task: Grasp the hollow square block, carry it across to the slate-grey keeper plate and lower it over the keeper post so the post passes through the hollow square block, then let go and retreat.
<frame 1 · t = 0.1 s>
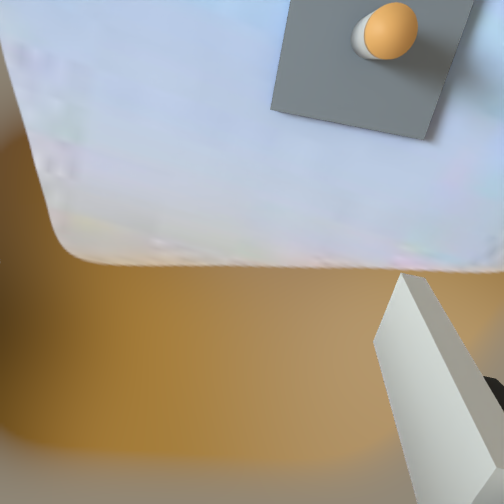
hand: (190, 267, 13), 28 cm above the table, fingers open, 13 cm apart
keeper: (368, 38, 34), on the table
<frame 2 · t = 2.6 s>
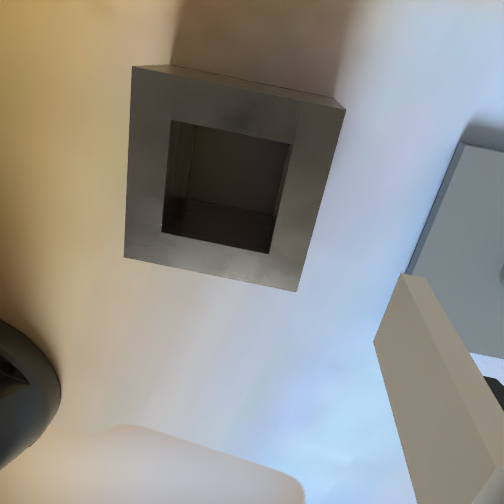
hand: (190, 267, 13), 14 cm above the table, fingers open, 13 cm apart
hollow square block: (237, 163, 26), on the table
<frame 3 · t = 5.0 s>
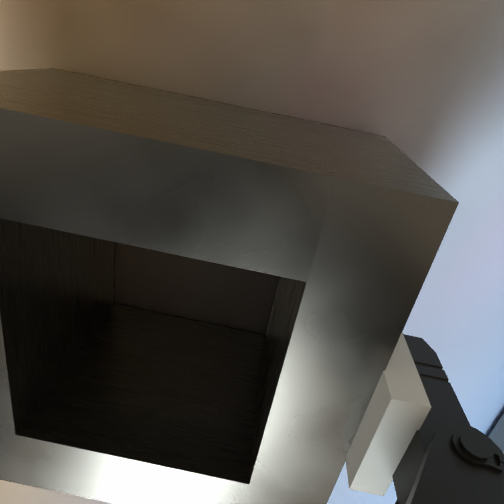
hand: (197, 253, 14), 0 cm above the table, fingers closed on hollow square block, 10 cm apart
hollow square block: (198, 250, 14), on the table, touching gripper
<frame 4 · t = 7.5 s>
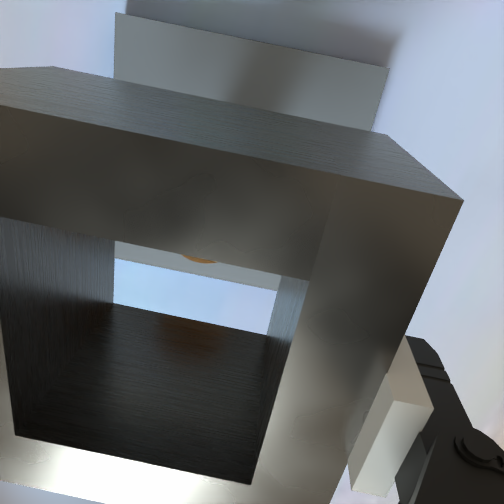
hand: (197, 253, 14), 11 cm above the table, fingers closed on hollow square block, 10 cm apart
hollow square block: (199, 250, 14), point 11 cm above the table, touching gripper
keeper: (233, 170, 24), on the table
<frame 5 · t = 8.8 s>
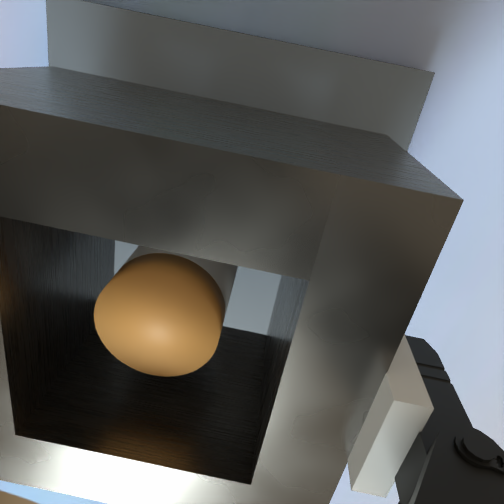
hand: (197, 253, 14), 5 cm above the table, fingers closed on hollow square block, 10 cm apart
hollow square block: (199, 250, 14), point 5 cm above the table, touching gripper
keeper: (216, 207, 18), on the table
when the fingers open (2 cm above the table, at t = 9.9 s): hollow square block stays where it is, resting on keeper.
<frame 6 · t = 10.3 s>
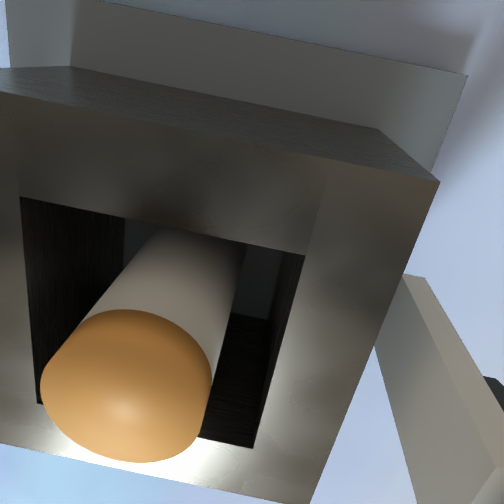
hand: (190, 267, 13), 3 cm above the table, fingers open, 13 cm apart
hollow square block: (203, 238, 15), point 1 cm above the table, touching keeper
keeper: (209, 229, 16), on the table
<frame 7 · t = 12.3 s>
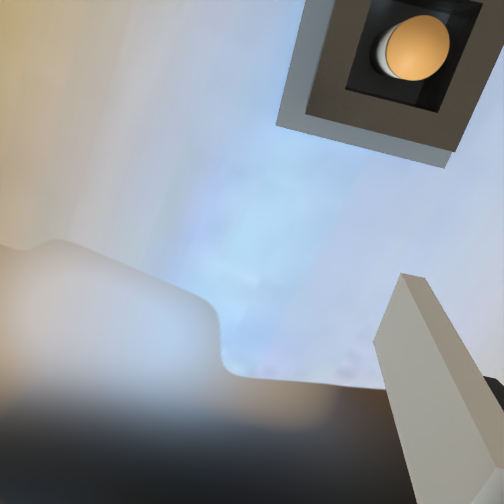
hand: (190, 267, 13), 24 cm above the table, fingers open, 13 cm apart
hollow square block: (391, 51, 29), point 1 cm above the table, touching keeper
keeper: (389, 52, 30), on the table
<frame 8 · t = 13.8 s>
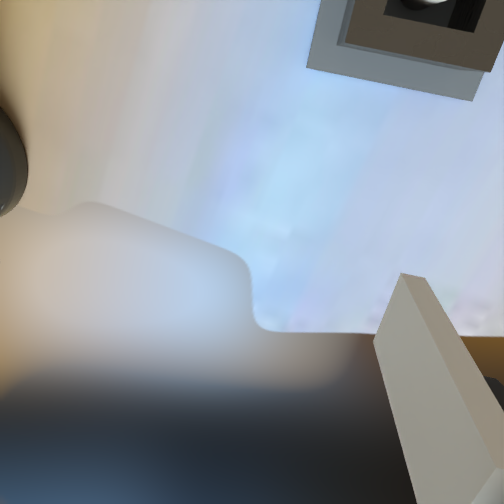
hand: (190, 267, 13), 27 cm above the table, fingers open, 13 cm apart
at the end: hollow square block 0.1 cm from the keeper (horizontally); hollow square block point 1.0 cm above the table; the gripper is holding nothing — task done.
